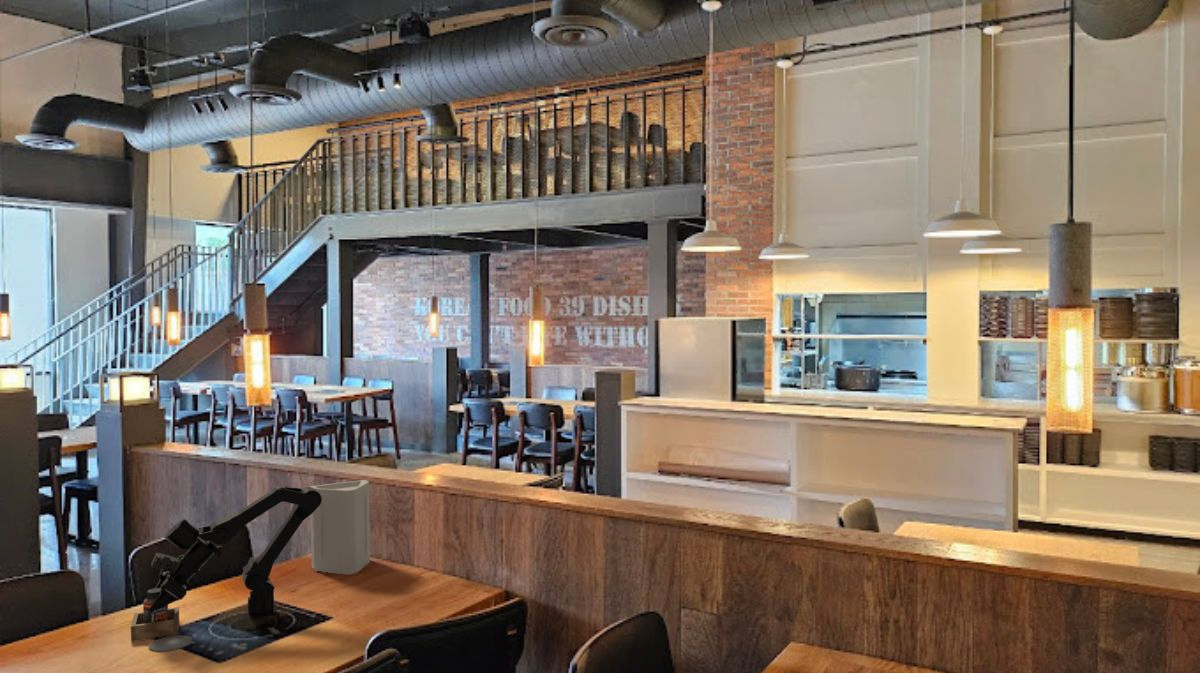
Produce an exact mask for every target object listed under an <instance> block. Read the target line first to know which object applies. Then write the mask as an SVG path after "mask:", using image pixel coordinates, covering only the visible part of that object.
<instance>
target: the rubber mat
mask: <svg viewBox="0 0 1200 673" xmlns="http://www.w3.org/2000/svg"><path fill="white" fill-rule="evenodd" d="M192 642H193V638H192V637H191V636H189V635H182V634H178V635H172V636H165V637H160V638H157V639H156V640H154V641H152V642H151V643H149V645H148V649H149V651H152V652H155V651H156V652H155V653H162V652H164V653H165V652H173V651H176V650H177V651H178V650H179V649H183V648H186V647H187V646H188V645H190V644H191V643H192ZM172 650H173V651H172Z"/></svg>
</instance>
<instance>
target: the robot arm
mask: <svg viewBox="0 0 1200 673" xmlns="http://www.w3.org/2000/svg"><path fill="white" fill-rule="evenodd" d="M283 502H284V503H287V504H288V503H289V504H293V505H292V508H291V511H290V513H289V514H288V516H287V517H286V519H285V520H284V522H283V523H282V525H281V526H280V527H279V529H278V530H277V531H276V533H275V534H274V535H273V537H272V538H271V540H270V541H269V543H268V545H266V547H265V549H264V550H263V551H262V552H261V554H260V555H259V556H257V557H256V558H255V557H253V556H251V557H250V558H249V560H248V562H247V564H246V565H245V566H243V567H242V570H243V572H242V574H241V578H242V582H243V583H244V585H245V588H246V589H247V590H248V591H249V590H250V591H249V596H248V597H247V613H248V615H249V618H257V617H262V616H263V617H264V616H270V615H271V616H272V615H275V614H276V611H275V598H274V597H275V595H274V594H275V592H274V591H275V585H274V584H273V582H272V580H271V579H270V575H271V572H272V568H273V567H274V564H275V561H277V559H278V557H279V556H280V555H281V553H282V552H283V550H284V549H285V547H286V546H287V544H288V543H289V542H290V540H291V539H292V538H293V536H294V535H295V533H296V531H297V530H298V529H299V527H300V526H301V525H302V523H303V521H305V519H307V518H308V517H311V514H312V513H313V512H314V511H315V510H316V509H317V508H318V507H319V506H320V504H321V502H322V498H321V495H320V493H319V492H317V491H316V490H315V489H314V488H312V487H310V486H306V487H303V488H299V487H289V486H283V485H278V486H275V487H274V488H272V490H270V491H269V492H268V493H266V494H264V495H263V496H261V497H259V498H258V499H256V500H254V501H253V502H252V503H250V504H249V505H247V506H245V507H244V508H242V509H240V510H239V511H238V512H235V513H232V514H230V515H225V516H224V517H221V518H219V519H217V520H215V521H213V522H211V524H209V525H205V526H202V527H196V526H194V525H193V524H192V523H190V522H189V521H188V520H187V519H186V518H183V519H181V520H180V521H178V522H177V523H176V524H175V525H173V526H172V527H170V529H168V531H167V532H166V534H165V535H164V537H163V538H164V539H165V540H167V541H168V542H169V543H171V544H172V545H174V546H175V547H176V548H178V549H179V550H180V551H183V550H184V551H185V550H187V551H186V552H185V554H180V555H179V556H178V557H176V556H175V557H174V556H172V555H168V554H164V553H161V552H156V553H155V554H154V556H153V559H152V561H151V563H150V565H151V568H153V569H156V570H157V569H158V570H160V572H159V581H158V583H157V584H156V586H155V588H161V593H160V594H159V595H158V597H157V598H156V600H155V601H154V602H153V604H152V605H151V607H150V608H149V611H150V612H154V611H156V610H158V609H160V608H162V607H164V606H166V605H168V606H169V605H170V604H172V603H175V602H178V601H182V600H183V599H184V598H185V596H186V595H187V586H188V584H189V581H190V580H191V579H192V577H194V576H195V574H197V575H198V574H199V573H200V571H201V570H200V569H201V568H203V566H204V565H205V564H206V563H207V562H208V561H209V560H210V559H211V558H212V556H213V555H216V556H217V557H219V558H221V557H223V555H222V554H223V553H222V550H223V547H222V545H224V544H227V543H229V542H230V541H231V540H232V539H233V538H234V537H235V536H236V535H237V534H239V532H240V531H241V530H242V529H243V528H244V527H245V526H246V525H248V524H249V523H251V522H252V521H254V520H255V519H257V518H259V517H260V516H262V515H263V514H265V513H266V512H268V511H270V510H272V508H275V507H276V506H277V505H278V504H280V503H283Z"/></svg>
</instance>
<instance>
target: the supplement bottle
mask: <svg viewBox="0 0 1200 673" xmlns="http://www.w3.org/2000/svg"><path fill="white" fill-rule="evenodd" d="M160 593H161V588H156V587H155V588H151V589H148V590H147V592H146V596H147V597H146V598H144V600H143V604H142V605H143V607H142V609H143V611H142V612H143V624H145V623H152V622H158V621H165V620H168V609H169V604H168V605H166V606H164V607H162V608H160V609H158V610H156V611H154V612H150V611H149V608H150V607H151V605H152V604H153V602H154V601H155V600H156V598H157V597H158V595H159V594H160Z"/></svg>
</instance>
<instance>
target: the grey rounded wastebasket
mask: <svg viewBox="0 0 1200 673" xmlns="http://www.w3.org/2000/svg"><path fill="white" fill-rule="evenodd" d="M309 487H312V488H314V489H315V490H316V491H317V492H319V493H320V495H321V498H322V502H321V504H320V506H319V507H318V508H317V509H316V510H315V511H314V512H313V513H312V514H311V515H310V537H311V538H310V539H311V540H310V542H311V569H312V568H313V569H314V570H315V571H314V570H313V569H312V570H313V571H314V572H317V571H322V572H321V573H326V572H328V573H329V574H337V575H347V576H348V575H354V574H357V573H358V572H359V571H361V570H362V569H363V568H364V567H366V566H367V565H368V564H369V563H371V533H370V531H371V526H370V518H371V517H370V516H371V515H370V481H369V480H367V479H361V480H352V481H343V482H334V483H327V484H325V483H324V484H317V485H311V486H309ZM328 573H327V574H328Z"/></svg>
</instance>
